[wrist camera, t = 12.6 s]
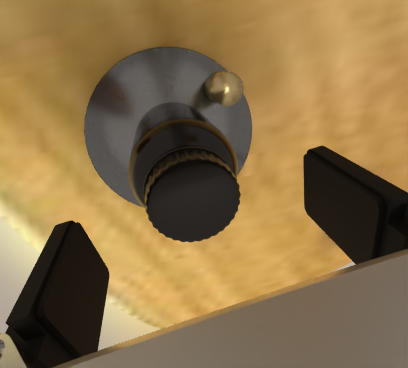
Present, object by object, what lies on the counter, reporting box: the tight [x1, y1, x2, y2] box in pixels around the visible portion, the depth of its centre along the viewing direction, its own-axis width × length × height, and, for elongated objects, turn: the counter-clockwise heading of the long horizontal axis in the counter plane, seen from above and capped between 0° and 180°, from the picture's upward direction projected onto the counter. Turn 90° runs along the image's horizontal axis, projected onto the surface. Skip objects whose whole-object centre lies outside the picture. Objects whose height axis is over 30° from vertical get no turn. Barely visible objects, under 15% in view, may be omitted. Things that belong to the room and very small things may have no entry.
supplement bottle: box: [129, 102, 241, 242], centre depth 18 cm, size 7×7×12 cm
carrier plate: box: [84, 47, 252, 207], centre depth 22 cm, size 15×15×4 cm
